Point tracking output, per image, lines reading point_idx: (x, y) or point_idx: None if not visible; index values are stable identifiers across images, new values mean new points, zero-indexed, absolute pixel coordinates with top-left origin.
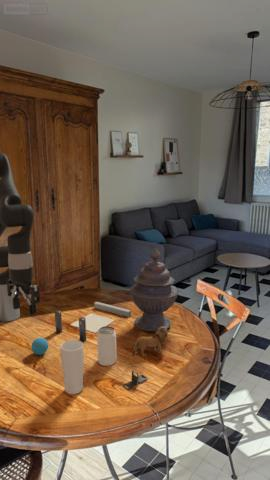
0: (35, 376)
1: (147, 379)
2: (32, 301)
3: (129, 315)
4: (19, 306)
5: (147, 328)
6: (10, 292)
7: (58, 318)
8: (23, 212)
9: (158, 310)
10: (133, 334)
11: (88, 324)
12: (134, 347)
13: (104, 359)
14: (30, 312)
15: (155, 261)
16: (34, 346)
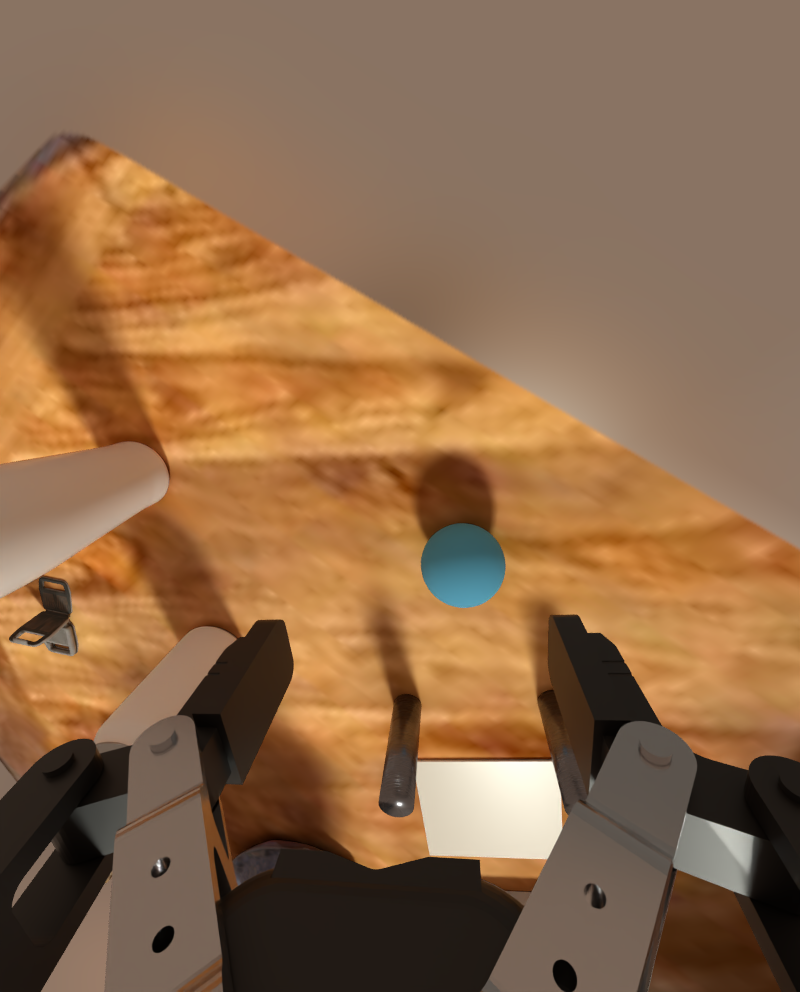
0: (319, 428)
1: (52, 646)
2: (55, 785)
3: None
4: (553, 679)
5: (268, 853)
6: (786, 862)
7: (559, 764)
8: None
9: None
10: (297, 809)
11: (491, 793)
12: None
13: (178, 645)
14: (243, 639)
15: None
16: (454, 538)
